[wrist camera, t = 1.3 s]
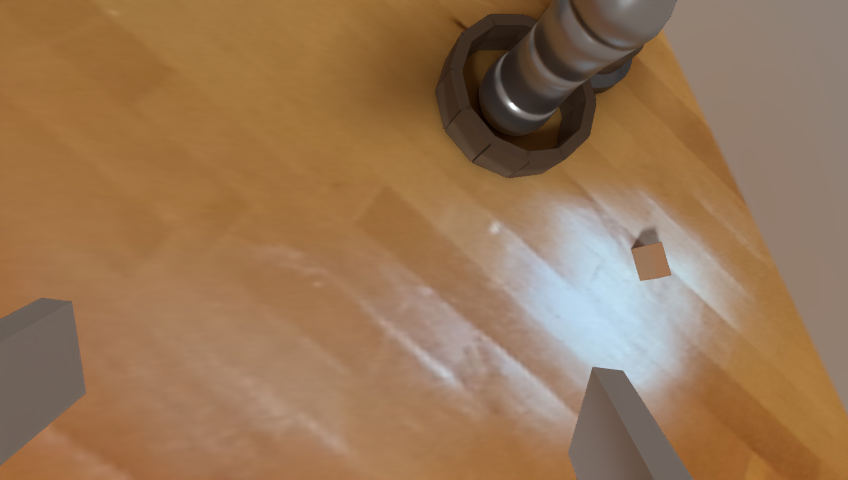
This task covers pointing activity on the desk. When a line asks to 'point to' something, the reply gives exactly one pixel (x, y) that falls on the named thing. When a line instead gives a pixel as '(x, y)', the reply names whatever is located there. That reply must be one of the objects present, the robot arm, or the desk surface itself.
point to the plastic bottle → (564, 57)
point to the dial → (474, 132)
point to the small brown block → (651, 261)
